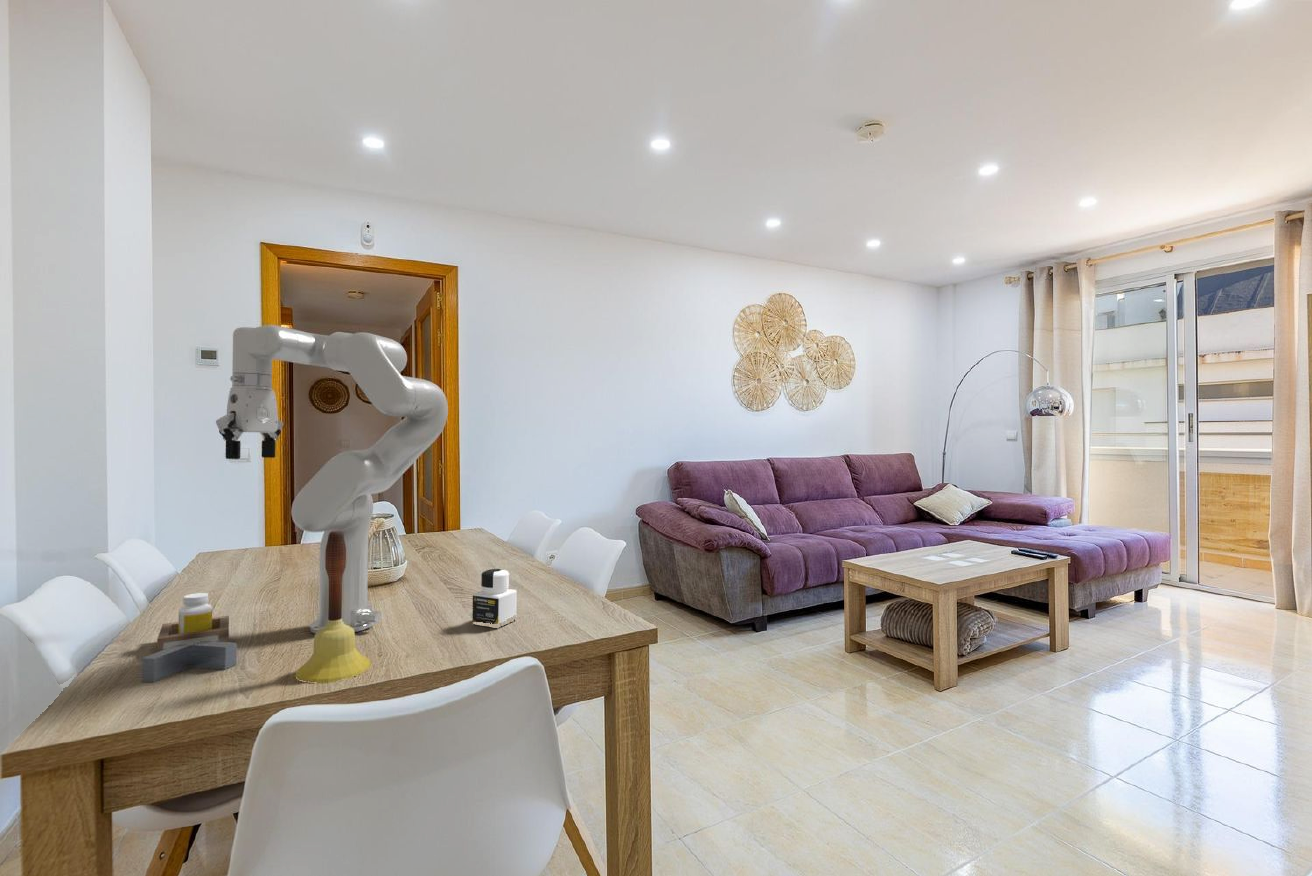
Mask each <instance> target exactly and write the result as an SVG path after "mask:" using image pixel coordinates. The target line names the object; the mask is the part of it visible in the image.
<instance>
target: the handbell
mask: <svg viewBox="0 0 1312 876" xmlns="http://www.w3.org/2000/svg"><path fill="white" fill-rule="evenodd" d="M325 568H326V571H327V574H328V578H329V606H328V622H327V624H326V626H325V627H323V628H321V629H320V630H319V631H318V632H317V633H316V634H315V633H314V639H313V653H312V655H310V657H309V659H308V660H307V661H306V662H304V664H302V665H301V666H300V667H299V668H298V669H297V670H296V672H295V674H296V675H295V674H294V678H295V677H297V678H298V679H299V680H303V681H306V682H308V681H309V682H317V683H321V684H329V683H328V682H332V683H334V682H333V681H338V680H342V679H346V678H349V677H354V676H356V675H358V674H360V673H362V672H363V671H364V670H367V669H368V668H369V666H370V662H371V660H370V659H369V658H367V657H366V656H364V655H363V654H361V653H360V652H359V651H358V650H357V648H356V636H355V635H356V634H355V633H356V632H354V630H353V628H351V627H350V626H348V625H345V624H344V623H343V621H342V577H343V573H344V570H345V568H346V545H345V540H344V535H343V532H342V531H331V532H330V533H329V536H328V541H327V545H326V551H325ZM356 677H357V676H356ZM354 678H355V677H354ZM323 682H324V683H323ZM338 682H339V681H338Z"/></svg>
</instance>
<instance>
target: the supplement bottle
mask: <svg viewBox="0 0 1312 876" xmlns="http://www.w3.org/2000/svg"><path fill="white" fill-rule="evenodd" d="M182 599H183V606H182V607H181V608H179V610H178V622H179V623H178V634H183V633H190V632H197V631H205V630H212V618H213V606H212V605H211V604H209V603H208V601H209V593H206V592H196V593H190V594H186V595H183V598H182Z"/></svg>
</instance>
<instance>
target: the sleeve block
mask: <svg viewBox="0 0 1312 876" xmlns="http://www.w3.org/2000/svg"><path fill="white" fill-rule="evenodd" d="M229 622H230V615H222V616H221V615H220V616H215V617H213V616H212V630H205V631H197V632H190V633H183V634H178V623H179V621H175V622H168V623H167V622H166V623H162V625H161V628H160V629H159V630H160V631H159V632H158V636H157V639H156V640H157V641H156V642H157V645H156V653H157V652H159V651H162V650H163V645H164V643H167V642H174V641H181V640H188V639H194V638H201V637H208V636H214V635H218V642H229V637H230V636H229V634H230V632H229V631H230V625H229V624H230V623H229Z"/></svg>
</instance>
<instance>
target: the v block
mask: <svg viewBox="0 0 1312 876" xmlns="http://www.w3.org/2000/svg"><path fill="white" fill-rule="evenodd" d="M237 645H238V644H237V642H231V641H230V642H218V635H214V636H208V637H201V638H194V639H188V640H181V641H174V642H167V643H164V645H163V650H162V651H159V652H157V651H156V652H155V653H152V654H148V655H145V656H143V657H141V682H146V683H155V682H158V681H160V680H163V679H165V678H167V677H170V676H174V675H175V674H178V673H180V672H183V671H185V670H187V669H190V668H198V669H210V670H211V669H214V670H225V671H226V670H228V669H230V668H233V667H235V666H236V665H237V655H238V653H237V647H238V646H237ZM234 665H235V666H234Z"/></svg>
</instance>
